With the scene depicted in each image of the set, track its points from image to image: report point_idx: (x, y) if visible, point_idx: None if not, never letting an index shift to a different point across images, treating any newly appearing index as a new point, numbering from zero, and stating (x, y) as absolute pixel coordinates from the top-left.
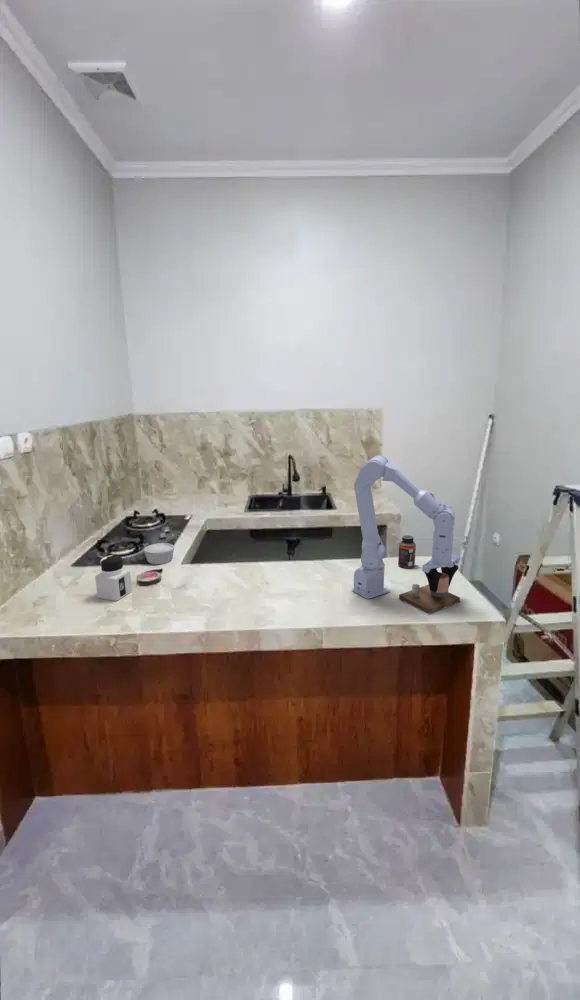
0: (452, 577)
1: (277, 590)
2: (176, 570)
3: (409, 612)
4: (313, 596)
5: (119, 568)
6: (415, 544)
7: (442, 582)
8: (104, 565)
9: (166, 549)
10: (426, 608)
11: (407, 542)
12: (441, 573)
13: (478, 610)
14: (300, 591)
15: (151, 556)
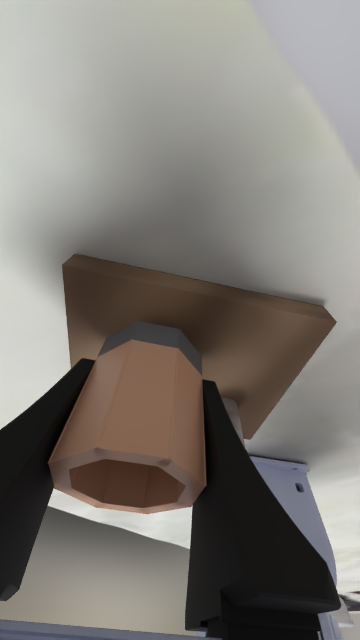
0: (23, 415)
1: (354, 541)
2: (345, 588)
3: (343, 365)
4: (352, 515)
5: None
6: None
7: (181, 426)
8: None
9: None
10: (326, 334)
11: None
12: (266, 591)
13: (66, 78)
14: (338, 528)
15: (349, 615)
